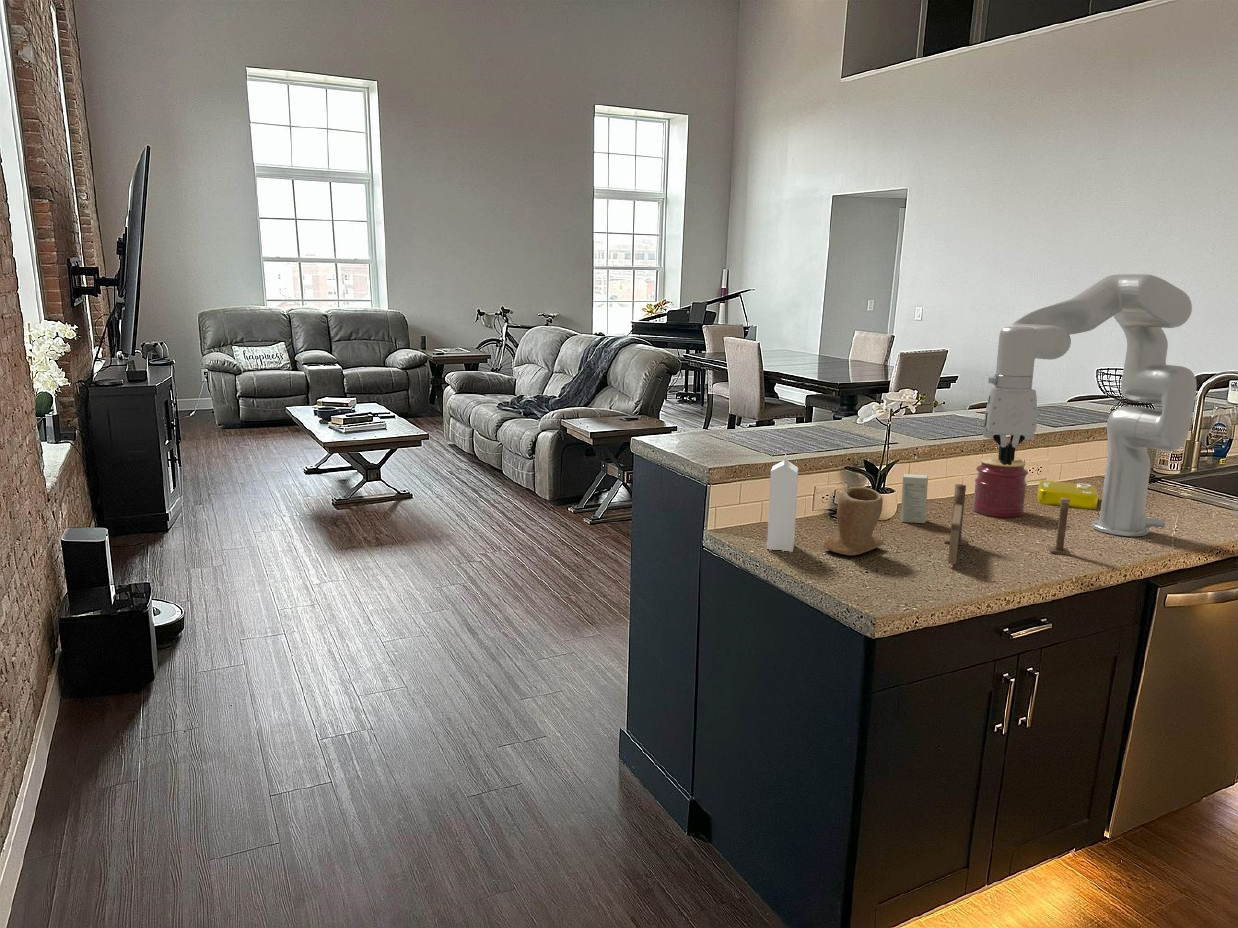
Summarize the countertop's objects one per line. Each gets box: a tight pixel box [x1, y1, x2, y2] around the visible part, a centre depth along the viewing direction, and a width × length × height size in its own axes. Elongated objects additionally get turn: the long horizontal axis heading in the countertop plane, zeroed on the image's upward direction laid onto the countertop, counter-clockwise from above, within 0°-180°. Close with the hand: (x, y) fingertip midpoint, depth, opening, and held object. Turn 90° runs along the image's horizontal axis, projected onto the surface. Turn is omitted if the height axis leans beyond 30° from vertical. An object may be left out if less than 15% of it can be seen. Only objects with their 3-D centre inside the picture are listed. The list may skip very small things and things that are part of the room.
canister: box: [972, 452, 1029, 518], centre depth 231 cm, size 13×13×18 cm
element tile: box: [1037, 479, 1099, 510], centre depth 245 cm, size 15×15×5 cm
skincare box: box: [900, 473, 929, 524], centre depth 222 cm, size 6×4×12 cm
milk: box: [766, 453, 799, 553], centre depth 197 cm, size 6×6×22 cm
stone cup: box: [822, 486, 885, 556], centre depth 196 cm, size 15×12×15 cm
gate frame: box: [943, 483, 1071, 556], centre depth 200 cm, size 27×5×14 cm, turn 71°
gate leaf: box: [947, 504, 962, 565], centre depth 193 cm, size 20×2×9 cm, turn 157°
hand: (1005, 463), depth 192 cm, fingers closed
